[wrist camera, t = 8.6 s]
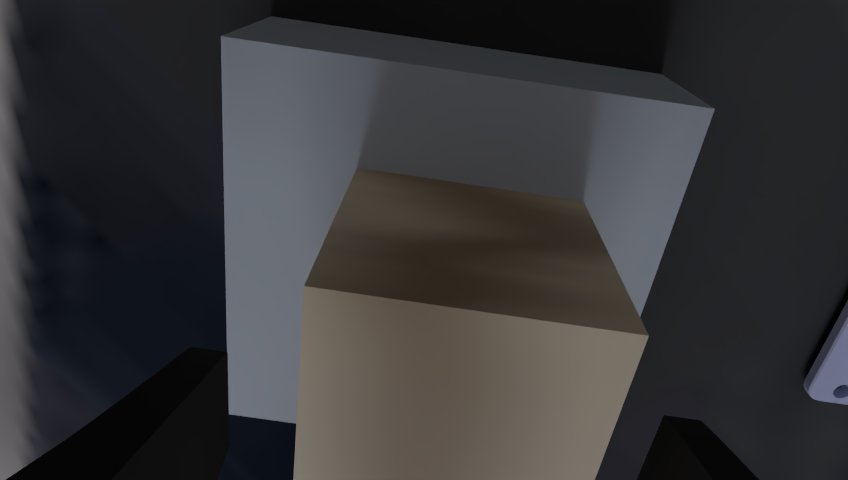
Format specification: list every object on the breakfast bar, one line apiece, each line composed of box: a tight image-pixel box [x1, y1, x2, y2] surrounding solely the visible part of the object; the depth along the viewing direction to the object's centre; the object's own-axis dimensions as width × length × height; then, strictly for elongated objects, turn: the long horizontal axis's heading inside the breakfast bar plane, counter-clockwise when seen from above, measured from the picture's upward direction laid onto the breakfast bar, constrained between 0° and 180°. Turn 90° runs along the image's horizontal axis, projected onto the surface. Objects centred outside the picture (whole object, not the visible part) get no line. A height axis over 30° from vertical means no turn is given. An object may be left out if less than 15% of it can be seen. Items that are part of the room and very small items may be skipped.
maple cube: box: [293, 168, 649, 480], centre depth 12 cm, size 5×5×5 cm
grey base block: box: [221, 16, 715, 423], centre depth 16 cm, size 10×10×4 cm
